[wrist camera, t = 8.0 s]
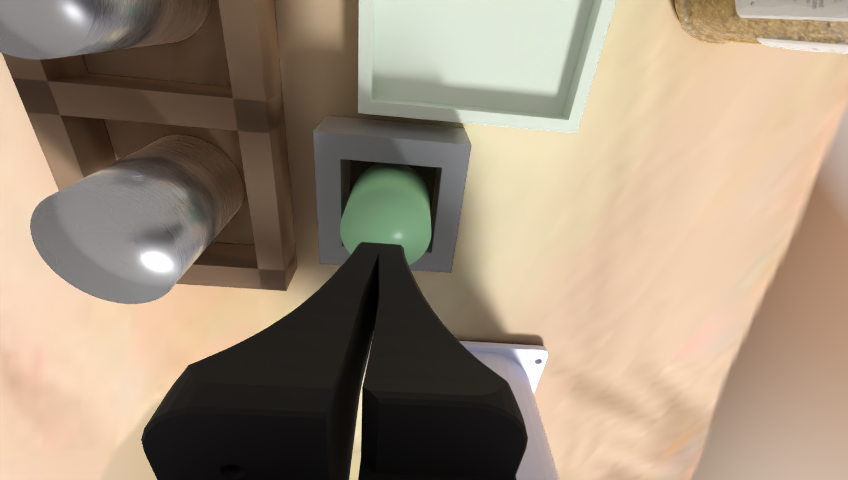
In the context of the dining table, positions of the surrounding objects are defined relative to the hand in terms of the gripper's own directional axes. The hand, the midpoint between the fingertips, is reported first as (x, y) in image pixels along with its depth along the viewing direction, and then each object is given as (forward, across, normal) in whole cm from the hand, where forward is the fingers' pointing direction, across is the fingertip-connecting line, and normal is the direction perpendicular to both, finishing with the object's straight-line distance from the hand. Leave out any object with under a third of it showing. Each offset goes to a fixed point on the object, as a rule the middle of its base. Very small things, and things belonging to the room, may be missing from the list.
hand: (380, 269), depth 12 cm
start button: (+6, 0, 0) cm, 6 cm away
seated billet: (+7, +9, +1) cm, 12 cm away
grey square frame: (+7, 0, 0) cm, 7 cm away
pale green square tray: (+7, -3, -8) cm, 11 cm away
